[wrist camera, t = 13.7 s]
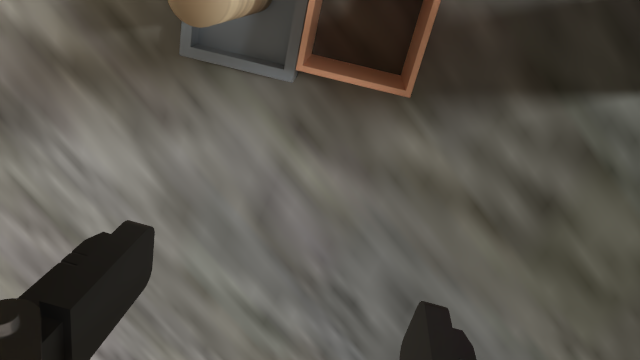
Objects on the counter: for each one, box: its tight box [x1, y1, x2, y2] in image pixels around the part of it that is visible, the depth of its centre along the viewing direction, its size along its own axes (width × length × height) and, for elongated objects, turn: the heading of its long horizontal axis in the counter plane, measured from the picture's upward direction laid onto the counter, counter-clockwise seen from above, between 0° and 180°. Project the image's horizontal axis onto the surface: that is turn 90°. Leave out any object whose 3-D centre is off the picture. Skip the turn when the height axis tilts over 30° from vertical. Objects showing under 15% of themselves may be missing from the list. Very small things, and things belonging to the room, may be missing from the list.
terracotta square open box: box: [296, 0, 441, 98], centre depth 37 cm, size 10×10×6 cm
